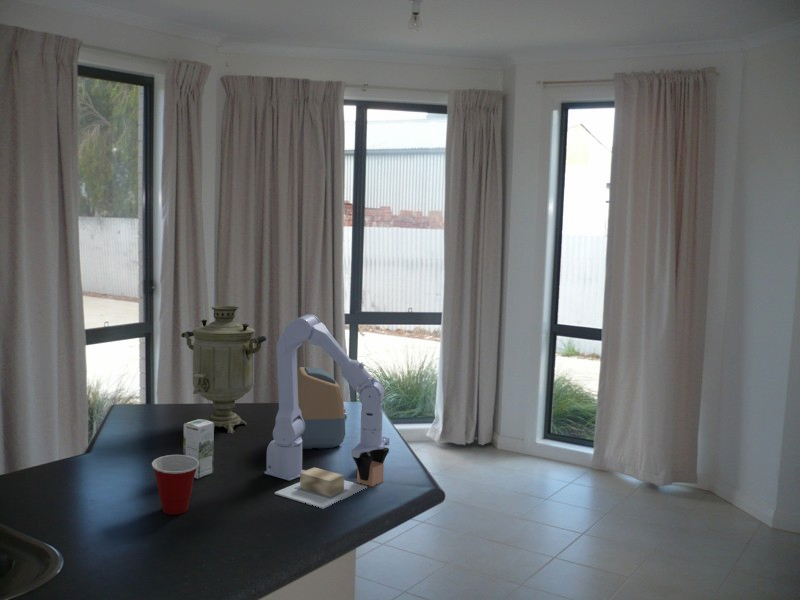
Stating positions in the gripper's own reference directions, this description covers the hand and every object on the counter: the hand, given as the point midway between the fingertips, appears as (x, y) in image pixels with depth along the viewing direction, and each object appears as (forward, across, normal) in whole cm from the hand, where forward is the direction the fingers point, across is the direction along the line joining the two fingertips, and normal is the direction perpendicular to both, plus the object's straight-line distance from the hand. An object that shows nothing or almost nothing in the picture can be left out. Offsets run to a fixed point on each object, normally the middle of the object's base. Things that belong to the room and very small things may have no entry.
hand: (370, 476), depth 201 cm
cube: (+1, 0, 0) cm, 1 cm away
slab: (+1, -13, +6) cm, 14 cm away
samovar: (+2, +9, +69) cm, 70 cm away
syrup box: (+2, -24, +40) cm, 47 cm away
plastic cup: (+2, -44, +25) cm, 51 cm away
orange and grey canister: (+2, +18, +34) cm, 39 cm away
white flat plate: (+1, -13, +6) cm, 14 cm away
